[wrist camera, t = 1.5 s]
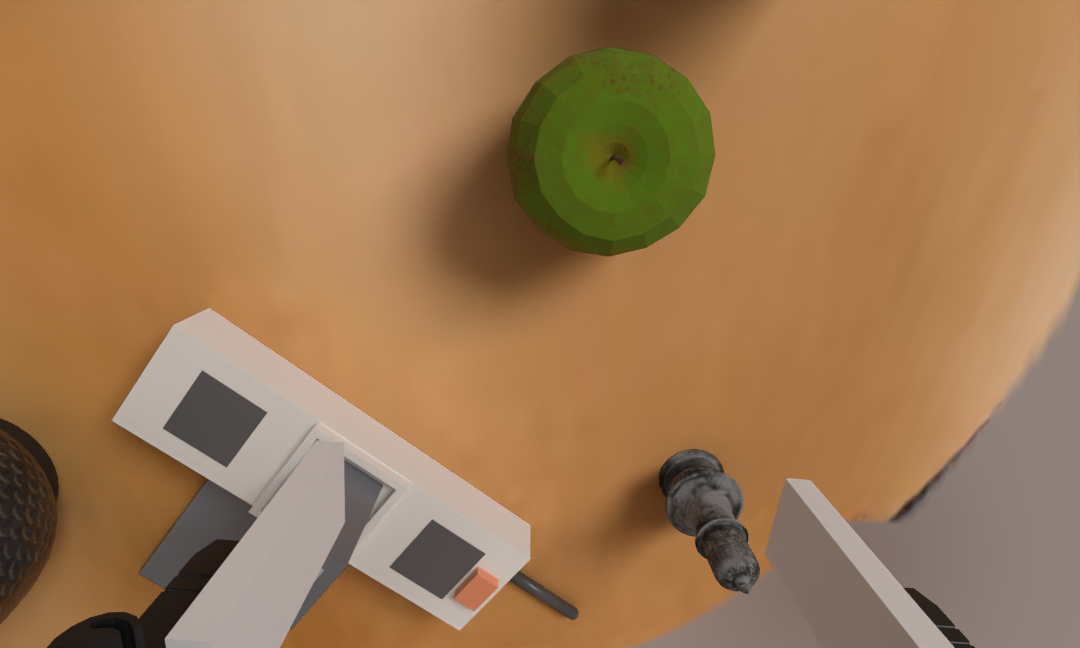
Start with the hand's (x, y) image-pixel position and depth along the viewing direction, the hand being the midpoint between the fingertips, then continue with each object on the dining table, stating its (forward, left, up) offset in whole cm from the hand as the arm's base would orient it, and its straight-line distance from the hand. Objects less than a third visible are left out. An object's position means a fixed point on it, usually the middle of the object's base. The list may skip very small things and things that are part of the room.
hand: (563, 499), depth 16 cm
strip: (+1, -21, -24) cm, 32 cm away
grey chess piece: (+19, -4, -24) cm, 31 cm away
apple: (-4, +10, -24) cm, 26 cm away
